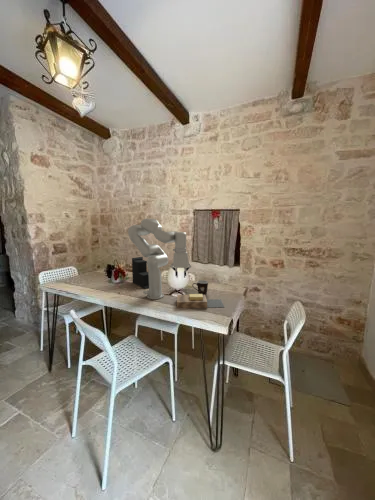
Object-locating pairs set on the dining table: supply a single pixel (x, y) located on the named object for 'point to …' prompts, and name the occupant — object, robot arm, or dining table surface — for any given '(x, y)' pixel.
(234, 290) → the dining table surface
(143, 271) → the bookend
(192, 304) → the brown flat block
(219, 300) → the mat
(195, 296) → the yellow flat block
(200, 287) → the coffee mug
